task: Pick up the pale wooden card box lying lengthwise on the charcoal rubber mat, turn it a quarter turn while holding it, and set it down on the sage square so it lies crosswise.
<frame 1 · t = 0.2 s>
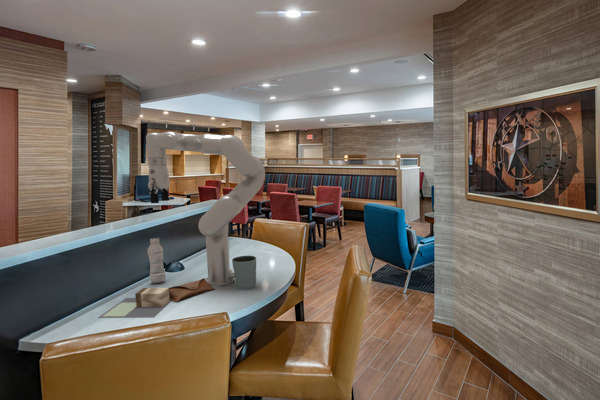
hand: (160, 201, 153), 36 cm above the table, tool pointing down, fingers open, 9 cm apart
grey cup: (245, 286, 149), on the table
card box: (153, 303, 132), resting on mat
plastic bottle: (158, 282, 158), on the table
sunglasses case: (191, 294, 142), on the table, touching mat
mat: (139, 308, 130), on the table
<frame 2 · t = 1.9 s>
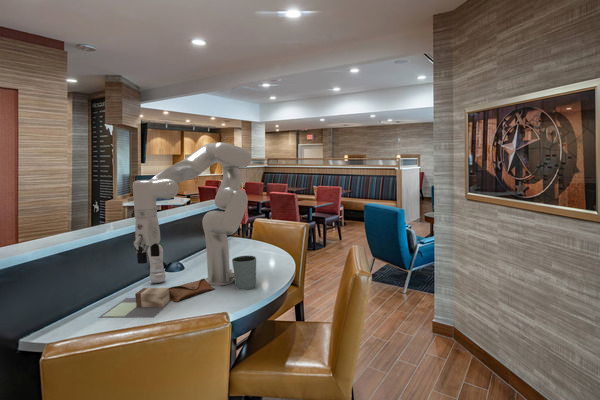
hand: (149, 259, 130), 17 cm above the table, tool pointing down, fingers open, 9 cm apart
nothing on the table moved.
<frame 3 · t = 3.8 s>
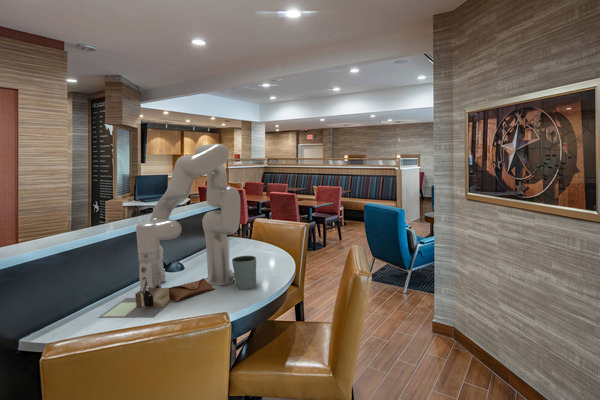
hand: (153, 302, 132), 1 cm above the table, tool pointing down, fingers closed on card box, 6 cm apart
card box: (153, 303, 132), resting on mat, touching gripper
everything else where it was.
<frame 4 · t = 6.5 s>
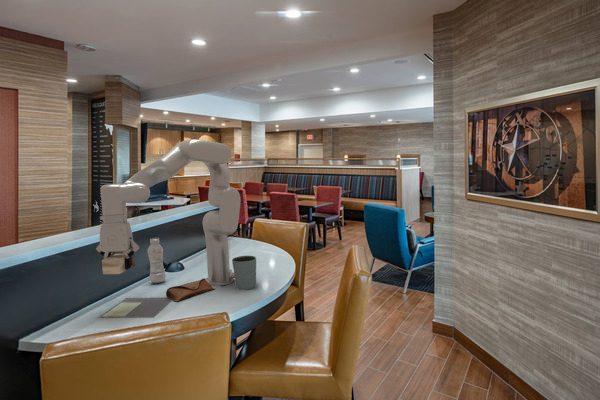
hand: (119, 268, 126), 16 cm above the table, tool pointing down, fingers closed on card box, 6 cm apart
card box: (119, 269, 126), point 15 cm above the table, touching gripper
everything else where it was.
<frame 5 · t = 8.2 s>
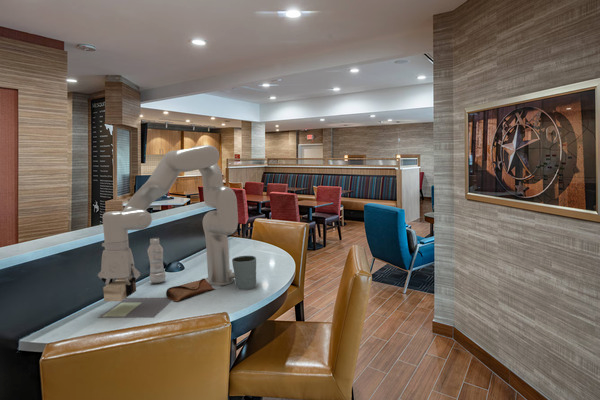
hand: (120, 294, 127), 6 cm above the table, tool pointing down, fingers closed on card box, 6 cm apart
card box: (120, 295, 127), point 6 cm above the table, touching gripper
everything else where it was.
when the fingers open (2 cm above the table, at t = 9.5 s): card box drops 1 cm, resting on mat.
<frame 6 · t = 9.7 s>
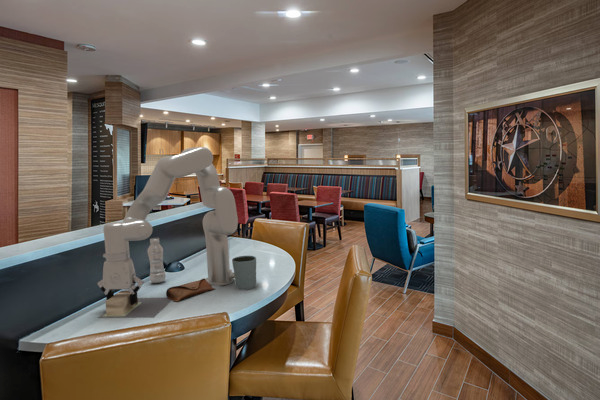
hand: (122, 303, 128), 3 cm above the table, tool pointing down, fingers open, 8 cm apart
card box: (122, 309, 128), point 1 cm above the table, touching mat
everything else where it was.
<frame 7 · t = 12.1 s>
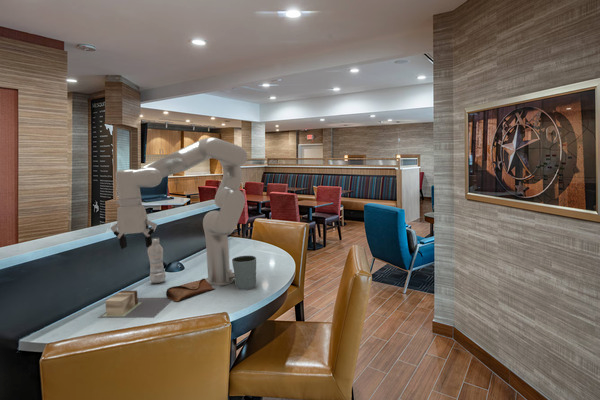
hand: (136, 247, 134), 21 cm above the table, tool pointing down, fingers open, 9 cm apart
nothing on the table moved.
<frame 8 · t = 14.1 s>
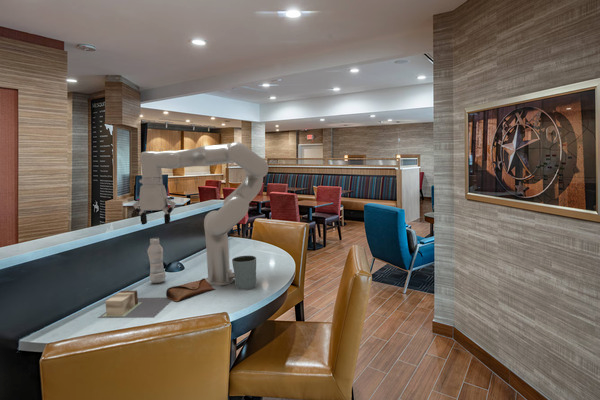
hand: (155, 223, 145), 28 cm above the table, tool pointing down, fingers open, 9 cm apart
nothing on the table moved.
at the end: card box 0.0 cm from the target spot on the mat, point 0.5 cm above the mat's base; card box tilted 0°; the gripper is holding nothing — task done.
